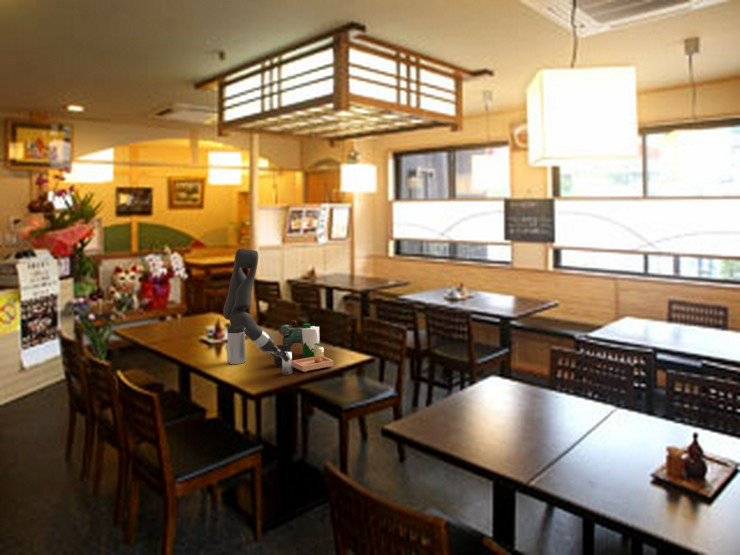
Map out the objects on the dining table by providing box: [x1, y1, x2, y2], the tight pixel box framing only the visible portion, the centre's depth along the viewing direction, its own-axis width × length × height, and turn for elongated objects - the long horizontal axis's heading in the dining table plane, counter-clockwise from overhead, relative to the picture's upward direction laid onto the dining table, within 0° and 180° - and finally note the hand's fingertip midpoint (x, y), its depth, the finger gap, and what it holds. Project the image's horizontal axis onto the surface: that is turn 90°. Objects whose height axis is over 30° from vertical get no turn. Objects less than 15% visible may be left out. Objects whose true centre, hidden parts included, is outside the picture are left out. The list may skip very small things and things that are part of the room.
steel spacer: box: [281, 350, 293, 376], centre depth 275 cm, size 5×5×11 cm
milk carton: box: [301, 322, 321, 359], centre depth 301 cm, size 9×9×20 cm
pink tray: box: [292, 356, 335, 374], centre depth 284 cm, size 18×13×4 cm
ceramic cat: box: [279, 320, 303, 347], centre depth 313 cm, size 20×6×20 cm, turn 76°
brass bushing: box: [314, 345, 325, 363], centre depth 286 cm, size 5×5×8 cm
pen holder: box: [273, 344, 292, 368], centre depth 291 cm, size 9×9×10 cm
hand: (282, 358), depth 273 cm, fingers open, 8 cm apart
